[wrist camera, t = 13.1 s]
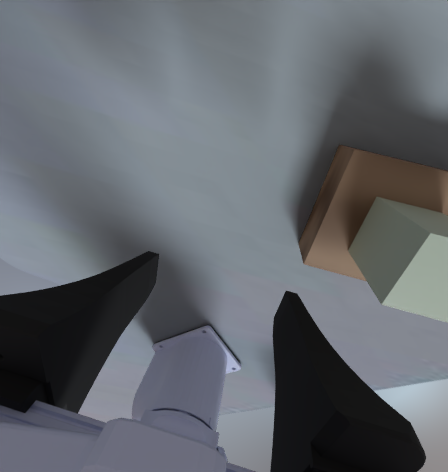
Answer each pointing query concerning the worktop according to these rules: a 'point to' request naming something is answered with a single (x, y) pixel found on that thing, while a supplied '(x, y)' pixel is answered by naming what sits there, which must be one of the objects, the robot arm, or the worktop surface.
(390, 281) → the sage brick
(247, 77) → the worktop surface
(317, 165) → the worktop surface
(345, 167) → the walnut block
